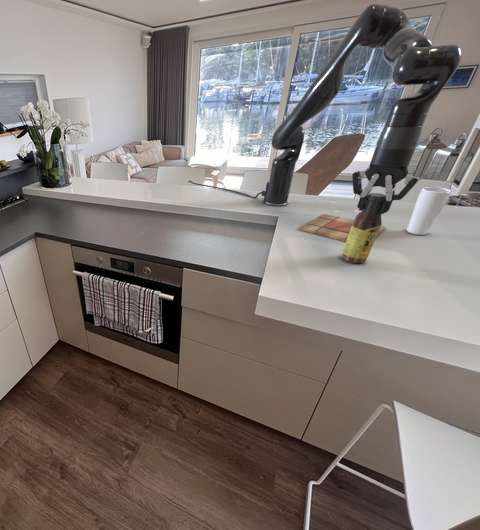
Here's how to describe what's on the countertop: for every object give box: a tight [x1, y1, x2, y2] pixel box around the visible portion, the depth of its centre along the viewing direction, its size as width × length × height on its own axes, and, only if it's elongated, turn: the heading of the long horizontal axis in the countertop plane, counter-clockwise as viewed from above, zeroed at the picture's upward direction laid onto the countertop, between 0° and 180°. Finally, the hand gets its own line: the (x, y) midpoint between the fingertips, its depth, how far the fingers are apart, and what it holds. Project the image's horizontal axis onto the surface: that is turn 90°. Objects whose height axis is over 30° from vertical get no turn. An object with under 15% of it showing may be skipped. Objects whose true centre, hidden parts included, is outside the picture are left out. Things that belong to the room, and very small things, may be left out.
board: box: [299, 213, 386, 242], centre depth 105 cm, size 20×20×1 cm
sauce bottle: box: [341, 192, 386, 264], centre depth 82 cm, size 7×6×20 cm
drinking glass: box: [406, 186, 452, 236], centre depth 96 cm, size 7×7×15 cm
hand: (371, 211), depth 79 cm, fingers closed on sauce bottle, 4 cm apart
